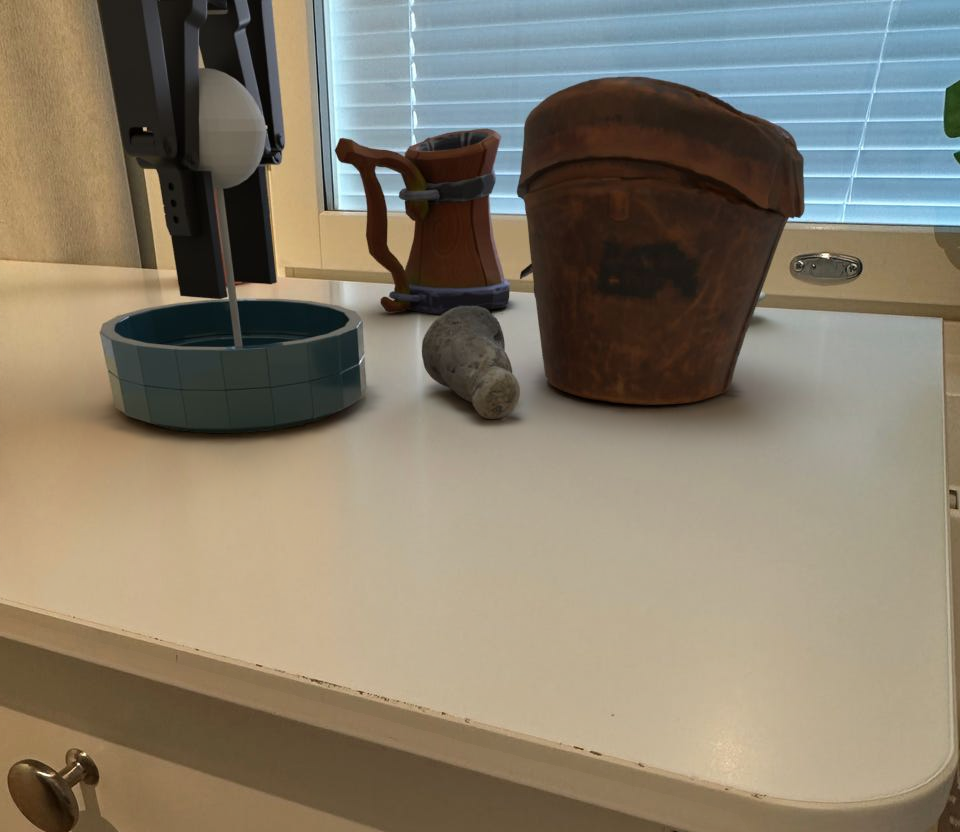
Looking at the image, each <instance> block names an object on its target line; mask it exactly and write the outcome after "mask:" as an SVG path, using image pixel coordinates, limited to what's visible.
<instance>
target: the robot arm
mask: <svg viewBox="0 0 960 832" xmlns="http://www.w3.org/2000/svg"><path fill="white" fill-rule="evenodd" d="M98 4H99V9H100V14H101V15H100V16H101V20H102V27H103V33H104V39H105V44H106V50H107V57H108V62H109V68H110V74H111V80H112V85H113V86H112V87H113V92H114V98H115V104H116V109H117V116H118V122H119V128H120V134H121V140H122V145H123V148H124V150H125V153H126V154H127V155H128V156H129V157H131V158H135V160H136V163H137V164H138V166H139V167H140V168H142V169H143V170H155V171H156V174H157V176H158V181H159V187H160V188H159V189H160V195H161V200H162V205H163V214H164V219H165V226H166V229H167V231H168V234H169V236H170V239H171V244H172V251H173V257H174V264H175V271H176V278H177V283H178V290H179V296H180V297H186V298H187V297H188V298H199V299H210V300H221V299H227V298H228V289H227V285H226V282H225V274H224V267H223V259H222V251H221V244H220V236H219V228H218V221H217V213H216V205H215V198H214V190H213V182H212V175H211V171H193V170H196V169H198V166H199V68H200V55H201V59H202V62H203V63H202V64H203V68H208V69H215V70H218V71H221V72H224V73H226V74H228V75H229V76H231V77H233V78H234V79H236V80H237V81H238V82H239V83H241V84H242V85H243V86H244V87H245V88H246V89H247V91H248V92H249V93H250V94H251V96H252V97H253V99H254V100H255V102H256V104H257V106H258V107H259V109H260V111H261V114H262V116H263V118H264V121H265V126H266V139H265V146H264V152H263V155H262V158H261V161H260V163H259V165H258V166H257V168H256V170H255V171H254V173H253V174H252V175H251V176H250V177H249V178H248V179H246V180H245V181H243V182H242V183H240V184H239V185H236V186H233V187H230V188H224V189H223V194H224V202H225V210H226V218H227V226H228V234H229V242H230V250H231V258H232V266H233V274H234V282H245V283H247V284H262V285H273V284H276V283H278V281H277V272H276V271H277V270H276V262H275V261H276V260H275V251H274V243H273V232H272V223H271V222H272V221H271V207H270V203H269V202H270V198H269V189H268V179H267V168H266V167H267V165H269V166H271V165H272V166H279V165H281V163H282V161H283V151H284V150H285V146H286V134H285V124H284V115H283V103H282V94H281V93H282V91H281V83H280V81H281V80H280V71H279V62H278V52H277V50H278V49H277V40H276V29H275V19H274V10H273V9H274V8H273V0H98ZM144 128H146V130H144ZM176 137H177V138H178V141H177V140H176Z"/></svg>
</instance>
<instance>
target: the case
mask: <svg viewBox="0 0 960 832" xmlns="http://www.w3.org/2000/svg"><path fill="white" fill-rule="evenodd" d="M804 161H805V160H804V156H803V154H802V153H801V152H800V151H799V150H798V146H797V142H796V140H795V138H794V135H792V134H791V132H789V131H788V130H786V129H785V128H783V127H782V126H781V125H778V124H776V123H774V122H771V121H770V120H767V119H764V118H763V117H759V116H758V115H757V116H756V115H753V114H750V113H746V112H743V111H741V110H739V109H736V108H735V107H734V106H733V105H731V104H730V103H729V102H725V101H724V100H722V99H720V98H719V97H717V96H714V95H712V94H709V93H708V92H707V91H703V90H699V89H696V88H695V87H692V86H689V85H685V84H681V83H677V82H674V81H670V80H663V79H660V78H659V79H658V78H653V77H649V76H648V77H647V76H627V75H626V76H613V77H612V76H608V77H606V76H605V77H600V78H594V79H588V80H584V81H581V82H578V83H575V84H573V85H570V86H567V87H564V88H563V89H560V90H558V91H556V92H554V93H552V94H550V95H549V96H547V97H546V98H544V99H543V100H542V101H540V103H538V104H537V105H536V106H535V107H534V108H533V109H532V110H531V111H530V112H529V114H528V115H527V117H526V118H525V121H524V126H523V145H522V152H521V161H520V163H521V164H520V174H519V177H518V184H517V187H516V195H517V198H520V199H522V200H523V202H524V210H525V215H526V222H527V231H528V232H527V233H528V243H529V253H530V254H529V255H530V262H531V263H530V264H528V265H527V266H526V267H525V268H524V269H522V270H521V271H520V274H519V280H522V279H523V278H525V277H527V276H529V275H530V274H532V280H533V294H534V299H535V305H536V314H537V315H536V316H537V321H538V331H539V339H540V347H541V355H542V362H543V368H544V370H543V371H544V375H545V378H546V380H547V382H548V383H549V384H550V385H551V386H552V387H554V388H556V389H558V390H559V391H562V392H565V393H566V394H570V395H573V396H575V397H580V398H584V399H587V400H588V399H589V400H594V401H602V402H610V403H614V404H615V403H617V404H627V405H642V406H643V405H645V406H647V405H648V406H649V405H651V406H652V405H653V406H656V405H679V404H689V403H695V402H700V401H704V400H707V399H710V398H713V397H715V396H718V395H721V394H723V393H726V392H727V391H728V390H729V389H731V386H732V384H733V378H734V375H735V374H734V373H735V369H736V365H737V363H738V360H739V356H740V353H741V350H742V347H743V344H744V341H745V339H746V334H747V332H748V330H749V327H750V325H751V322H752V318H753V316H754V313H755V311H756V308H757V306H758V305H757V302H758V299H759V296H760V293H761V291H763V288H764V285H765V282H766V280H767V277H768V273H769V272H770V268H771V265H772V263H773V259H774V256H775V254H776V252H777V248H778V245H779V242H780V240H781V238H782V234H783V232H784V229H785V227H786V225H787V222H788V220H789V219H794V218H798V219H800V218H802V216H803V215H804V213H805V206H806V205H805V204H806V203H805V178H804V170H805V169H804V165H805V163H804ZM756 305H757V306H756Z"/></svg>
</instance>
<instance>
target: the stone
mask: <svg viewBox="0 0 960 832" xmlns="http://www.w3.org/2000/svg"><path fill="white" fill-rule="evenodd" d="M505 350H506V344H505V336H504V331H503V329H502V326H501V324H500V322H499V321H498V318H497V317H495V316H494V315H493V314H492V312H491V311H490V310H489V309H488V310H487V309H485V308H483V307H478V306H460V307H456V308H453V309H450V310H449V311H447V312H445V313H444V314H440V315H439V316H438V317H437V318H436V319H434V321H433V322H432V323H431V325H430V326H429V328H428V329H427V331H426V333H425V335H424V337H423V338H422V343H421V357H422V362H423V366H424V368H425V371H426V373H427V374H428V376H429V377H430V378H431V379H432V380H433V381H435V382H437V384H439V385H442V386H444V387H446V388H449V389H451V390H452V392H454V393H455V394H457V396H459V397H460V398H462V399H463V400H465V401H467V402H469V403H471V404H472V406H473V407H474V409H475V411H476V412H477V414H478V415H480V416H481V417H482V418H485V419H488V420H497V419H503V418H505V417H507V416H508V415H509V414H510V413H511V412H513V410H514V408H515V407H516V406H517V405H518V402H519V399H520V395H521V388H520V385H519V382H518V379H517V377H516V376H515V375H514V374H513V366H512V364H511V361H510V360H511V359H509V356H508V354H507V352H506V351H505Z"/></svg>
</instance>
